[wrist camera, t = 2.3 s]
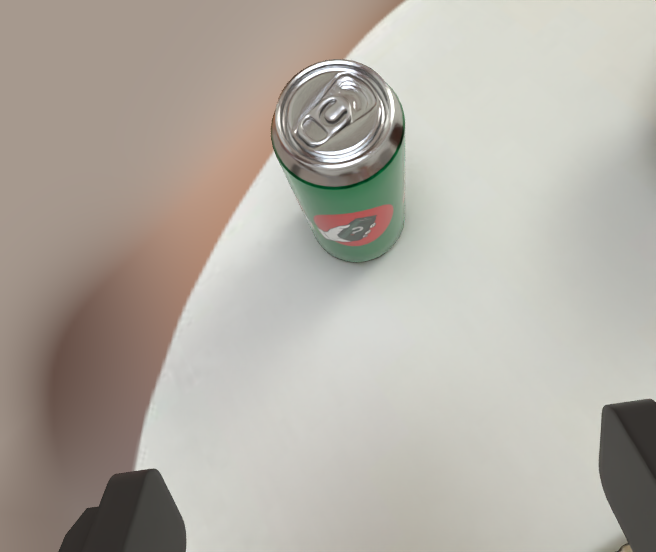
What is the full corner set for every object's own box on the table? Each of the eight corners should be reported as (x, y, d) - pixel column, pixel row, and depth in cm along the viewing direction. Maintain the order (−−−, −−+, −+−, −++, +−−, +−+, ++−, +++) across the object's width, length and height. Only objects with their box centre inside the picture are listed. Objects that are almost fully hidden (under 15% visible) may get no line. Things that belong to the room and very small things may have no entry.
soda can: (423, 219, 32) (435, 108, 21) (356, 283, 32) (330, 206, 20) (359, 160, 33) (336, 24, 22) (294, 221, 33) (235, 115, 22)
